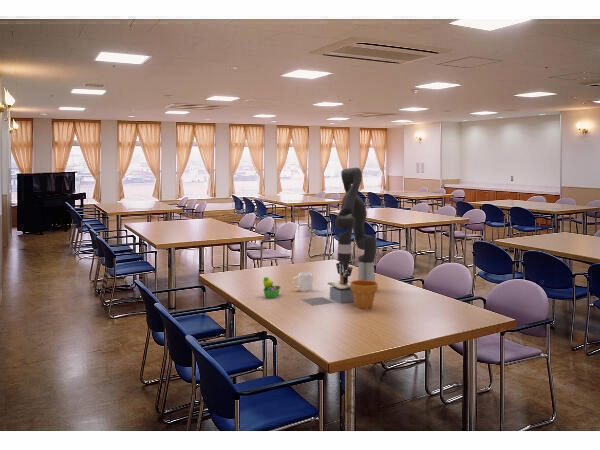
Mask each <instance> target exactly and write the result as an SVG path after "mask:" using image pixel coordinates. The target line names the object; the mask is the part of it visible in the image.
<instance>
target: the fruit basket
mask: <svg viewBox="0 0 600 450" xmlns="http://www.w3.org/2000/svg"><path fill="white" fill-rule="evenodd" d="M273 284H274V281H273V280H271V279H270V278H269V277H268V276H266V277H264V278H263V286H264V288H263V294H264V297H265V298H264V299H269V298H271V299H275V298H276V297H277V296H278V295H279V292H280V289H281V286H280V285H273Z"/></svg>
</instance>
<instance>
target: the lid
mask: <svg viewBox="0 0 600 450" xmlns="http://www.w3.org/2000/svg"><path fill="white" fill-rule="evenodd" d="M339 276H340V277H339V281H333V282H332V281H329V282H327V285H329V286H330V287H336V288H339V289H345V288H351V282H352V281H349V280H348V283H344V275H340V274H339Z"/></svg>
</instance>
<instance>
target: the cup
mask: <svg viewBox="0 0 600 450" xmlns="http://www.w3.org/2000/svg"><path fill="white" fill-rule="evenodd" d="M296 279H298V285H296V284H295V280H296ZM292 286H293V287H294V288H295V289H298V291H299V292H302V293H307V292H308V293H309V292H312V291H313V273H311V272H299V273H298V275H296V276H294V277H293V278H292Z"/></svg>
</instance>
